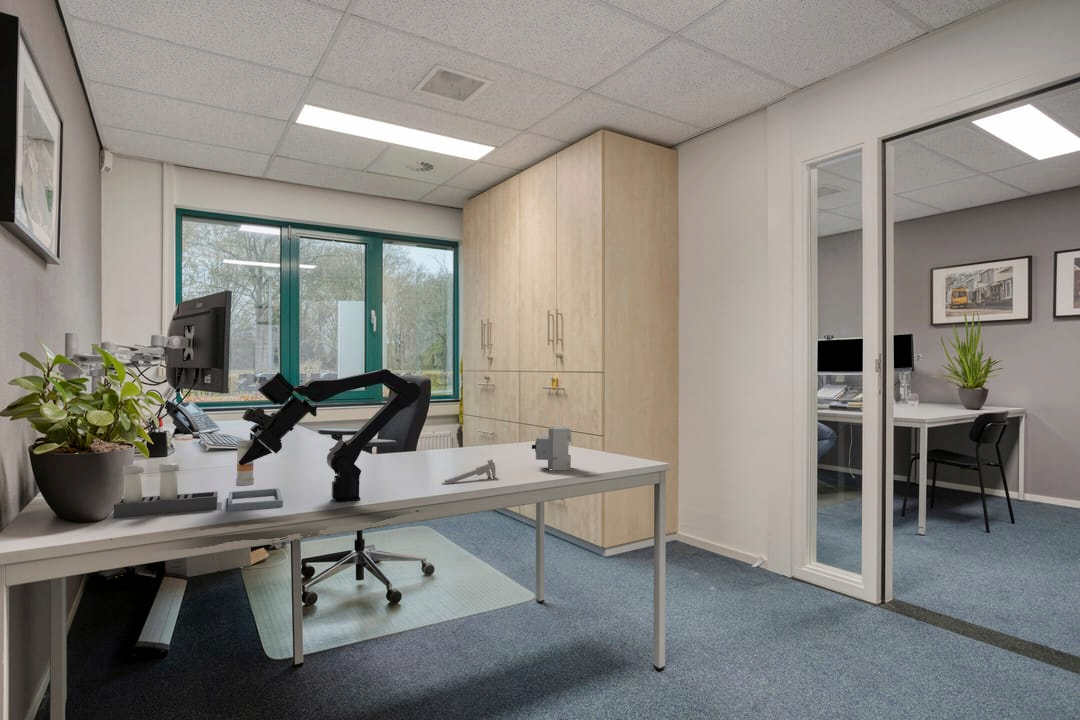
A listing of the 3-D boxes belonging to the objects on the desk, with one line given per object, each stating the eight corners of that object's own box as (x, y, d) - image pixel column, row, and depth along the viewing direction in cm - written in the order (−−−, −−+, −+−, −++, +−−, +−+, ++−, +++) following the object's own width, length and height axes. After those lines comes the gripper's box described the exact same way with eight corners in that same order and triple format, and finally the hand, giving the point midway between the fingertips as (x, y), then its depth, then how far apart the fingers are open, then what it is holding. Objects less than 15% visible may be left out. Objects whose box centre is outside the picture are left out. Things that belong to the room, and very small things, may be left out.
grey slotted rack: (222, 508, 145) (222, 490, 145) (221, 515, 138) (221, 497, 138) (113, 517, 135) (114, 498, 135) (106, 526, 128) (107, 506, 128)
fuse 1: (144, 510, 136) (145, 463, 136) (141, 514, 132) (142, 466, 132) (123, 512, 134) (124, 464, 134) (120, 516, 130) (121, 467, 130)
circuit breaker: (532, 466, 214) (532, 425, 214) (570, 467, 213) (571, 426, 213) (530, 469, 206) (531, 428, 207) (570, 470, 206) (571, 429, 206)
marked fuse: (253, 482, 147) (254, 439, 147) (253, 485, 144) (254, 441, 144) (235, 483, 145) (236, 440, 146) (235, 486, 142) (236, 442, 142)
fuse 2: (179, 507, 139) (180, 462, 139) (177, 511, 135) (178, 464, 135) (159, 509, 137) (160, 463, 137) (157, 513, 134) (158, 465, 134)
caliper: (493, 477, 193) (493, 458, 193) (495, 477, 192) (495, 459, 192) (441, 485, 179) (441, 464, 179) (443, 485, 178) (443, 465, 178)
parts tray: (279, 499, 156) (279, 488, 156) (282, 512, 142) (282, 500, 142) (228, 503, 150) (228, 491, 150) (227, 517, 137) (227, 504, 137)
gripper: (259, 393, 155) (212, 437, 149) (268, 398, 139) (214, 446, 133) (290, 422, 159) (245, 465, 153) (302, 429, 143) (252, 477, 137)
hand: (239, 462), depth 144 cm, fingers closed on marked fuse, 4 cm apart
